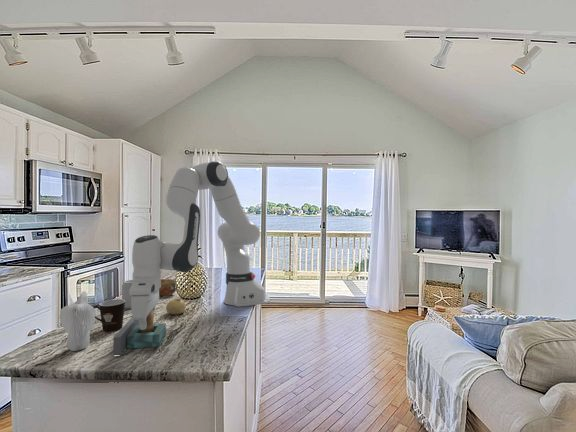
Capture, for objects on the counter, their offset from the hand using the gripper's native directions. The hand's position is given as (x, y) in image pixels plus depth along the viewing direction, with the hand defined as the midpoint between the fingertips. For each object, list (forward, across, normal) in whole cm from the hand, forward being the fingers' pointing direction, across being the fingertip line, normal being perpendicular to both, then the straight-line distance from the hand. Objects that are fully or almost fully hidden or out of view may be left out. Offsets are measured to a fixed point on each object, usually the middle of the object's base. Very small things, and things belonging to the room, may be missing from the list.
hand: (147, 323), depth 106 cm
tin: (+6, -60, -7) cm, 61 cm away
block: (+6, 0, 0) cm, 6 cm away
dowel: (+6, 0, 0) cm, 6 cm away
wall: (+6, 0, -6) cm, 9 cm away
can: (+6, -41, -17) cm, 45 cm away
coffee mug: (+6, -15, -17) cm, 24 cm away
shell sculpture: (+6, +2, -20) cm, 21 cm away
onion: (+6, -28, +5) cm, 29 cm away
